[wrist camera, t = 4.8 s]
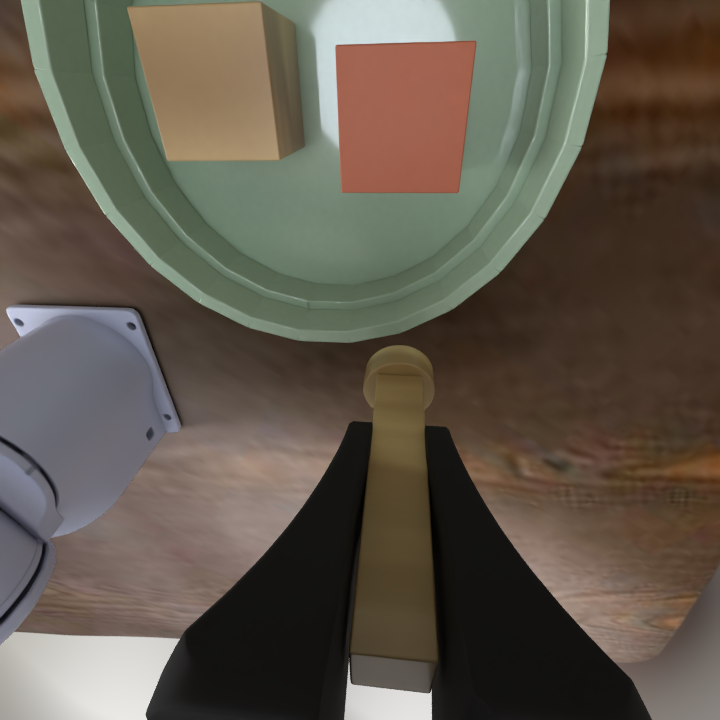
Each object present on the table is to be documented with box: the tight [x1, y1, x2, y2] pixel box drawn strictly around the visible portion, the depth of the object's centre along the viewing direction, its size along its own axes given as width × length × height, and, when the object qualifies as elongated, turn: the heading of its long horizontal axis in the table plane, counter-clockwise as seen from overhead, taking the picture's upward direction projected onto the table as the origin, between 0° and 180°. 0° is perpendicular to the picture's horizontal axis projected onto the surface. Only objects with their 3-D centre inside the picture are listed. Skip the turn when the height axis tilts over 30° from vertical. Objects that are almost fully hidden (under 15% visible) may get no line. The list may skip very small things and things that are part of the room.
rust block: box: [335, 41, 477, 193], centre depth 14 cm, size 4×4×4 cm
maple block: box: [127, 1, 305, 161], centre depth 14 cm, size 4×4×4 cm
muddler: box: [349, 345, 439, 693], centre depth 11 cm, size 3×3×10 cm
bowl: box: [21, 0, 610, 343], centre depth 14 cm, size 17×17×5 cm
